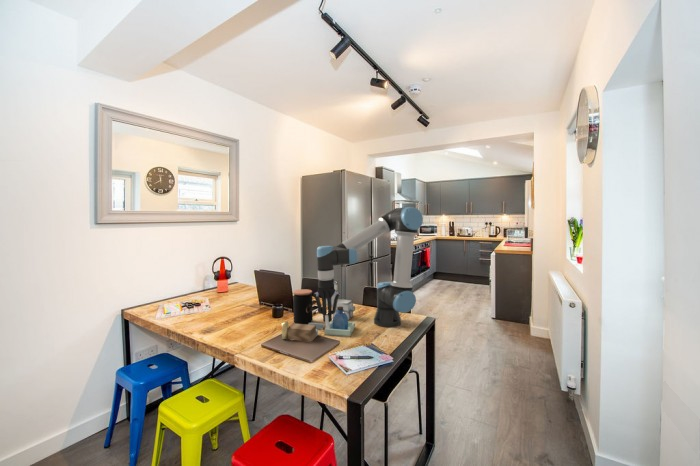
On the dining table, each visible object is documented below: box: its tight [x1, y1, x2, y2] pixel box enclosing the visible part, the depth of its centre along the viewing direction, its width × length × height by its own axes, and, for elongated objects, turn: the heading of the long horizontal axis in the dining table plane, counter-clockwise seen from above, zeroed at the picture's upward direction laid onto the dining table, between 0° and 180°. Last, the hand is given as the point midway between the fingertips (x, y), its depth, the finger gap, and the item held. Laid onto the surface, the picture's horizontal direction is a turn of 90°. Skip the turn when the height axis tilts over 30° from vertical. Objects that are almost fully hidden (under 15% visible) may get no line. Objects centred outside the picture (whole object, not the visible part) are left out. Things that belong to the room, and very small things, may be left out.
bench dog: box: [281, 321, 290, 340], centre depth 144 cm, size 3×3×8 cm
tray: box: [324, 320, 356, 338], centre depth 153 cm, size 13×13×3 cm
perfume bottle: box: [332, 307, 349, 330], centre depth 153 cm, size 6×6×12 cm
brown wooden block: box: [287, 322, 317, 343], centre depth 144 cm, size 12×7×6 cm, turn 76°
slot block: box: [308, 322, 325, 337], centre depth 153 cm, size 8×12×2 cm, turn 168°
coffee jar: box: [292, 288, 313, 324], centre depth 167 cm, size 11×11×18 cm
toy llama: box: [326, 281, 356, 321], centre depth 176 cm, size 8×18×20 cm, turn 66°
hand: (327, 328), depth 139 cm, fingers closed
